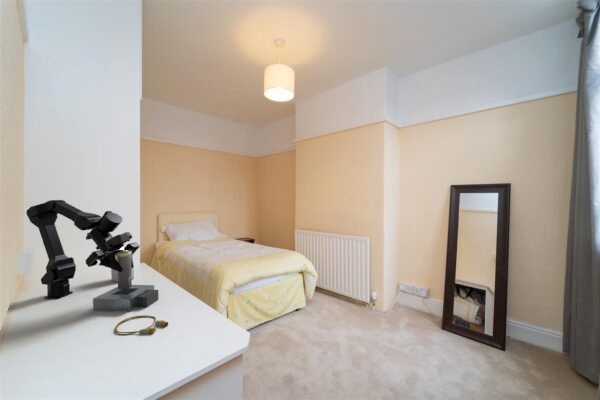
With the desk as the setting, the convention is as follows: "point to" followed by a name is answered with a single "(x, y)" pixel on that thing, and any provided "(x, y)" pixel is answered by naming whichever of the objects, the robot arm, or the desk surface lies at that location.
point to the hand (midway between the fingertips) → (127, 269)
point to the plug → (124, 269)
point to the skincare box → (115, 273)
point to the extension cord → (146, 330)
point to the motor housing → (126, 298)
